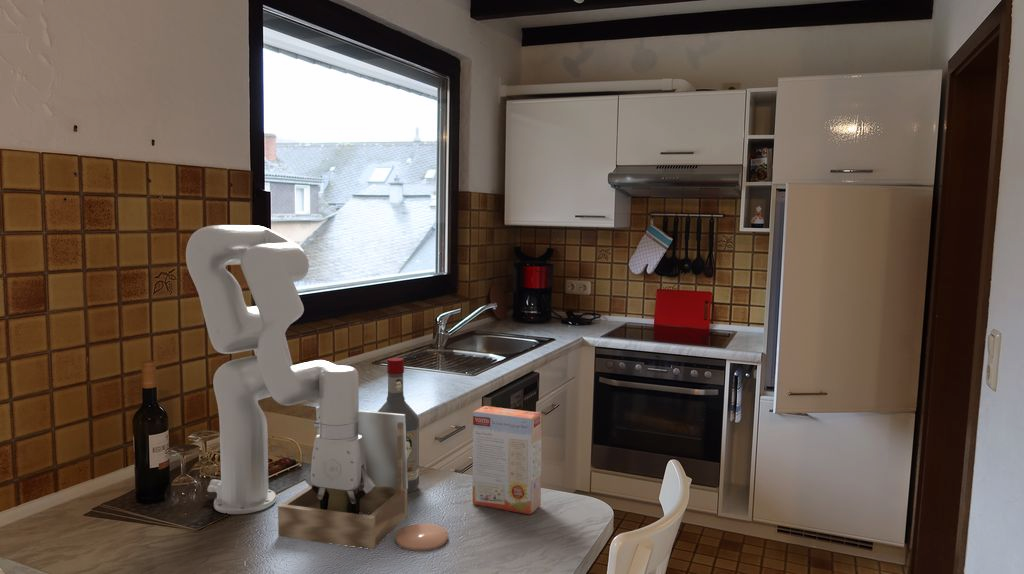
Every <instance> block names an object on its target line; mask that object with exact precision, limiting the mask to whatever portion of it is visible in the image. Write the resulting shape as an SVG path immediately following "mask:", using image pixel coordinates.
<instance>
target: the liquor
mask: <svg viewBox="0 0 1024 574" xmlns="http://www.w3.org/2000/svg"><path fill="white" fill-rule="evenodd" d="M386 362H387V365H386V366H387V367H386V368H387V370H386V371H387V397H386V402H384V404H383V405H382V406H381V407H380V408H379V409H378V410H377V412H384V413H395V414H405V424H406V450H407V476H408V488H407V494H410V493H413V492H415V491H416V489H417V488H418V486H419V484H420V419H419V417H418V414H417V413H416V412H415V410H413V409H412V407H411V406H410V405H409V404H408V403H407V401H405V399H406V398H405V395H404V373H405V361H404V358H402V357H391V358H388V359H387V360H386Z"/></svg>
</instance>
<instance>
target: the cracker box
mask: <svg viewBox="0 0 1024 574" xmlns="http://www.w3.org/2000/svg"><path fill="white" fill-rule="evenodd" d="M542 423H543V422H542V412H538V411H531V410H530V411H529V410H523V409H522V410H521V409H513V408H506V407H505V408H503V407H498V406H497V407H496V406H490V405H489V406H488V405H484V406H481V407H479V408H477V409H476V410H475V409H474V411H472V504H474V505H477V506H483V507H487V508H494V509H500V510H504V511H510V512H514V513H520V514H525V515H532V514H533V513H534V512H535V511H536V510H537V509H539V508H540V507H541V501H542V499H541V498H542V497H541V493H542V492H541V491H542V490H541V489H542V484H541V483H542Z"/></svg>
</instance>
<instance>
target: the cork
mask: <svg viewBox="0 0 1024 574" xmlns="http://www.w3.org/2000/svg"><path fill="white" fill-rule="evenodd" d="M327 492H328V493H329V499H328V507H327V510H331V511H338V512H346V513H348V504H349V503H350V499H349V495H348V492H347V491H342V490H336V489H327Z"/></svg>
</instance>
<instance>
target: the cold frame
mask: <svg viewBox="0 0 1024 574" xmlns="http://www.w3.org/2000/svg"><path fill="white" fill-rule="evenodd" d="M315 417H316V421H317V422H318V421H319V405H318V406H316V407H315ZM316 430H317V431H316V432H317V433H316V434H317V435H319V429H318V428H316ZM317 435H316V436H317ZM359 435H361V436H362V440H363V444H364V450H365V458H366V473H367V474H368V476H369V477H370V478H371V480H372V481H373V483H374V484H375V488H373V489H372V490H371V491H369V492H368V493H367V494H366V495H365V496H364V497H363V498H362V499H360V514H353V513H346V512H338V511H331V510H323V509H320V500H319V499H318V498H317V494H316V493H315V492H314V491H313V489H312V487H310V486H309V485H308V486H307V487H305V488H304V489H302V490H300V491H299V492H298V493H296V494H295V495H293V496H292V497H290V498H288V499H287V500H285V501H284V502H282V503H280V504H278V506H277V524H278V525H277V527H278V533H277V534H278V535H277V537H281V538H282V537H283V538H289V539H293V540H294V539H296V540H301V539H302V540H301V541H308V540H309V542H315V541H316V542H317V543H322V542H323V544H329V543H332V544H331V545H335V544H340V545H339V546H342V545H347V546H346V547H349V546H355V547H354V548H356V547H362V548H361V549H363V548H368V549H367V550H369V549H373V548H374V547H375V548H376V547H377V546H378V545H379V544H380V543H381V542H382V541H383V540H384V539H385V538H387V535H388V534H389V533H390V534H391V533H392V532H393V531H394V530H395V529H396V528H397V527H398V526H399V525H400V524H401V523H403V521H404V520H405V519H407V518H408V493H407V488H408V476H407V450H406V424H405V414H395V413H384V412H378V411H371V410H363V409H361V410H360V409H359ZM359 486H360V490H362V489H363V488H364V484H360V485H359ZM390 534H389V535H390ZM389 535H388V536H389ZM376 545H377V546H376ZM375 548H374V549H375ZM374 549H373V550H374Z"/></svg>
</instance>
